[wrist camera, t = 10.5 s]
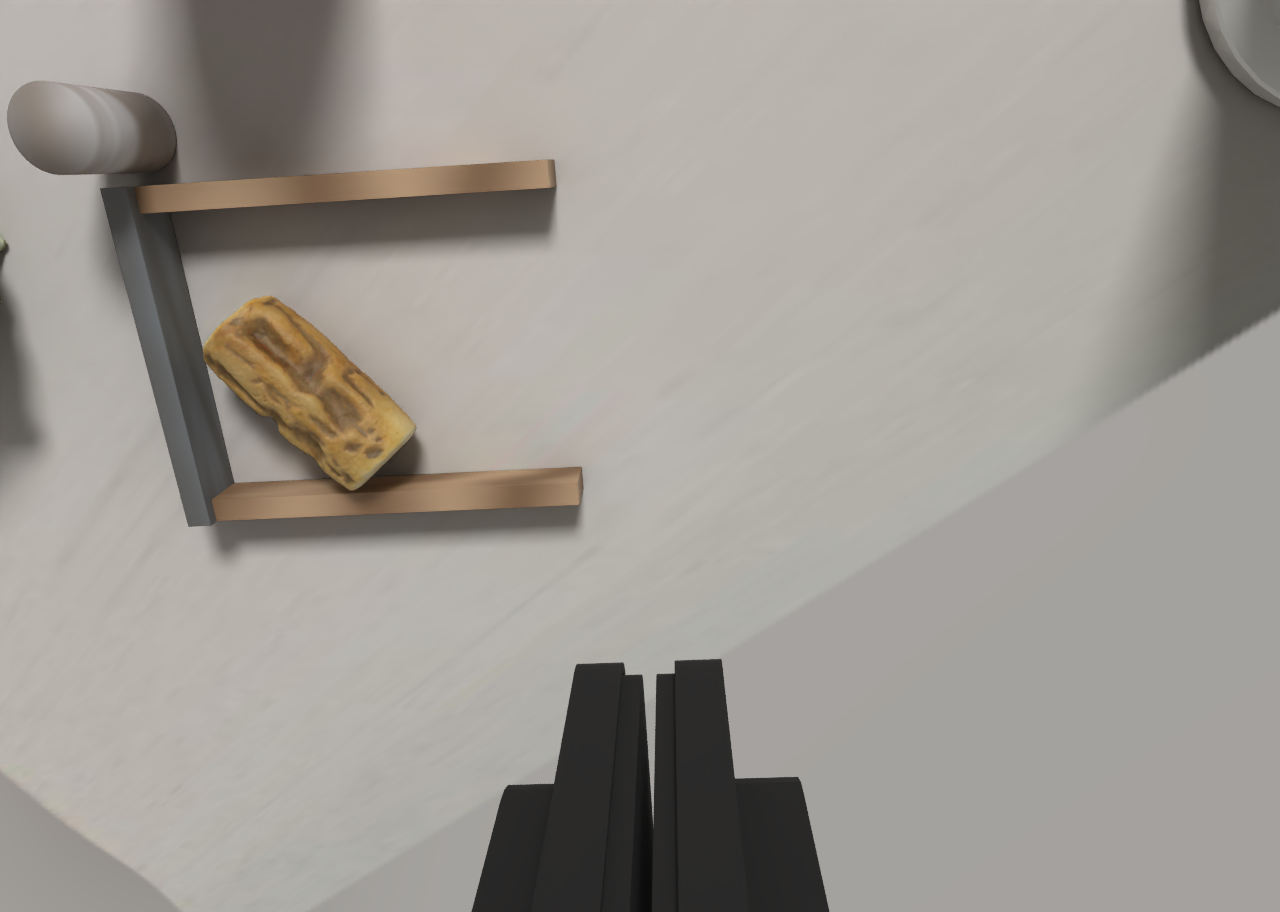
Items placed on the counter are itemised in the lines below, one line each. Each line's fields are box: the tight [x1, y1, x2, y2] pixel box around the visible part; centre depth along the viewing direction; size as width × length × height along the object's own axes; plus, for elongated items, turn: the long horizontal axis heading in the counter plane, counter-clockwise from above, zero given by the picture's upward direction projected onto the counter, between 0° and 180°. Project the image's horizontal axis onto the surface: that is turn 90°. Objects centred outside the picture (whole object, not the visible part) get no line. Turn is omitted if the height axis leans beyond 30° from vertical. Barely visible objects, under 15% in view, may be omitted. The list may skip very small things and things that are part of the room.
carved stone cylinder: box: [203, 296, 416, 490], centre depth 35 cm, size 8×4×4 cm, turn 45°
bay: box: [7, 81, 583, 527], centre depth 33 cm, size 18×18×5 cm
